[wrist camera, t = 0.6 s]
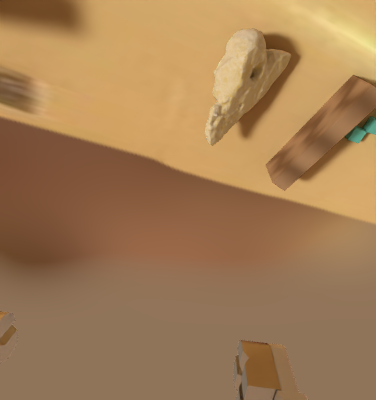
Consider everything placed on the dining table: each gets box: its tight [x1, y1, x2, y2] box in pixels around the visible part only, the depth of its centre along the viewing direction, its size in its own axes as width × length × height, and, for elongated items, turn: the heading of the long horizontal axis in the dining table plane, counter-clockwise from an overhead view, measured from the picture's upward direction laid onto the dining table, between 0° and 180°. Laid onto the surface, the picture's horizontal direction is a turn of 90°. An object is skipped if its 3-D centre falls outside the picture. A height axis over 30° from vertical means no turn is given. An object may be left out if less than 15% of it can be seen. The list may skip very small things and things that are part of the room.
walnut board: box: [266, 75, 376, 191], centre depth 47 cm, size 20×3×6 cm, turn 146°
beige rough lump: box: [205, 29, 291, 146], centre depth 42 cm, size 15×7×15 cm
